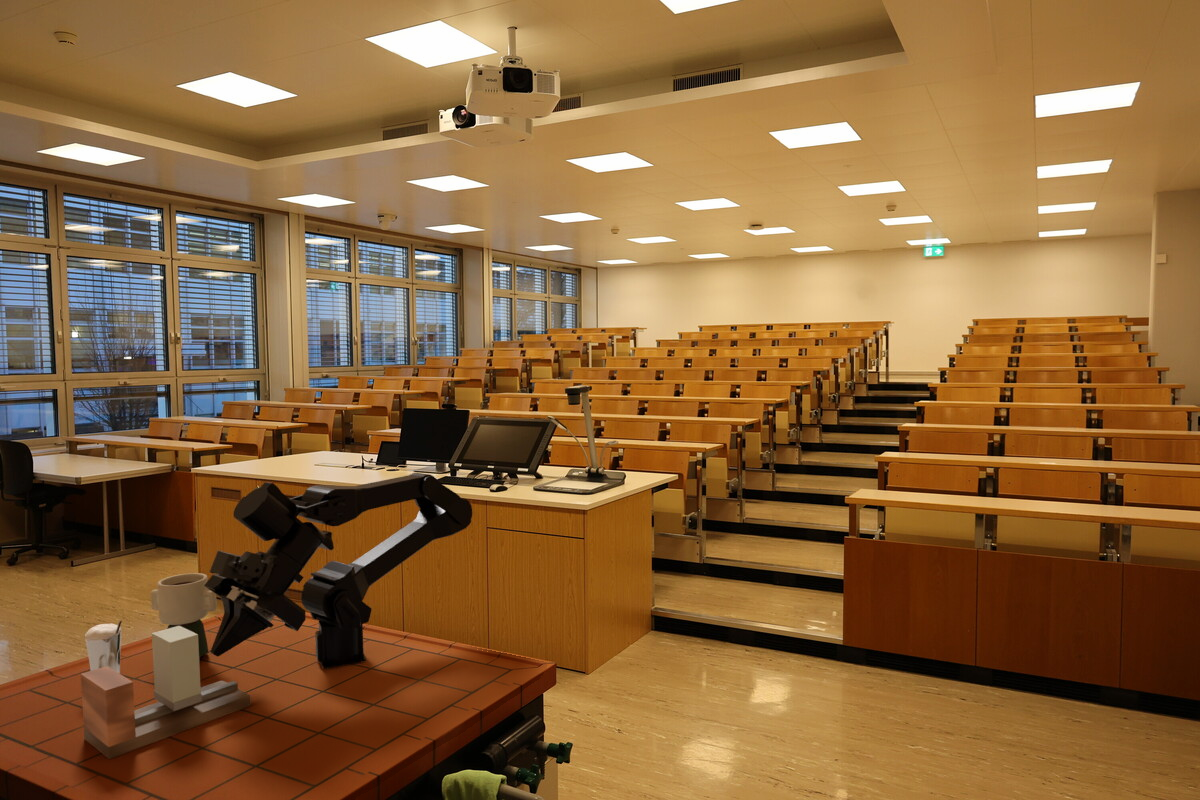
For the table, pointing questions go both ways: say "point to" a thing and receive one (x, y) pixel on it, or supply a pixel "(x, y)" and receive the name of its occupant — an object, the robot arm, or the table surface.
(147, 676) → the table surface
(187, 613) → the character mug
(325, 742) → the table surface
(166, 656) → the block
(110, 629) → the milkshake
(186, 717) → the track
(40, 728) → the table surface
